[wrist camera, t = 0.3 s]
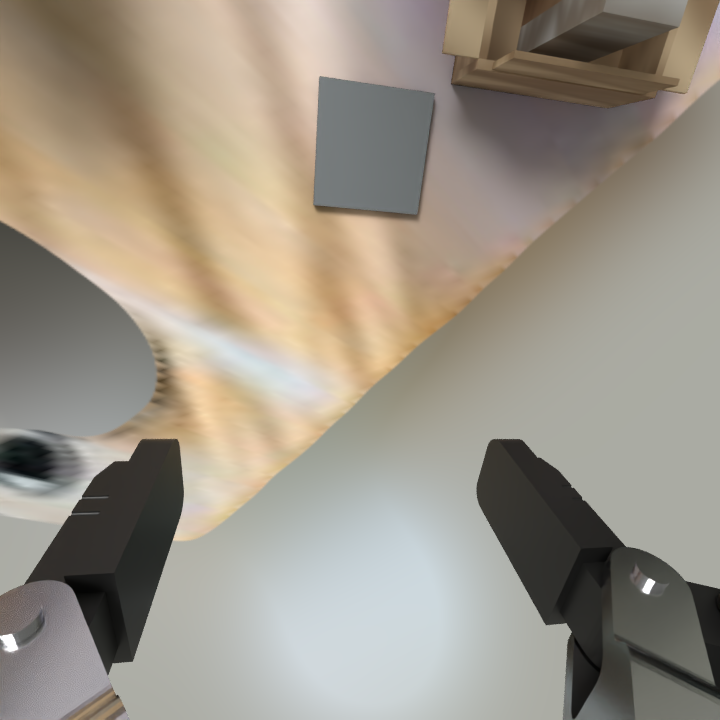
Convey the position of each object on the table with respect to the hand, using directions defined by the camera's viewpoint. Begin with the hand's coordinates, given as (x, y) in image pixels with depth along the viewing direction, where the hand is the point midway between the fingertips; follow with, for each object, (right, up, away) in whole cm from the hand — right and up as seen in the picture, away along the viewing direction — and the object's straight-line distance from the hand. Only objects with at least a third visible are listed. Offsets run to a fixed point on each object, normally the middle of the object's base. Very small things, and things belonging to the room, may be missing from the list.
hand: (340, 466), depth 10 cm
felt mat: (+1, +20, +23) cm, 30 cm away
